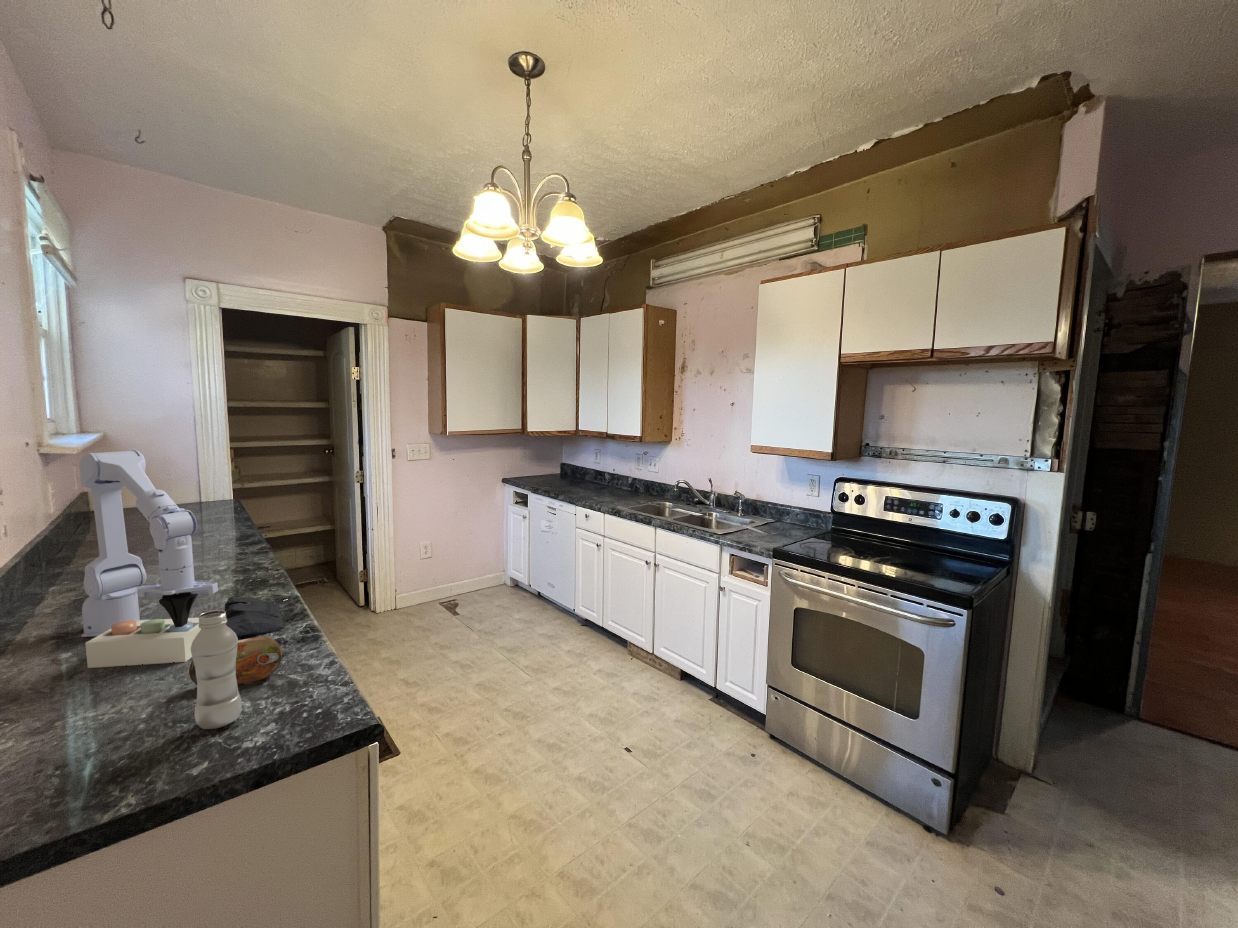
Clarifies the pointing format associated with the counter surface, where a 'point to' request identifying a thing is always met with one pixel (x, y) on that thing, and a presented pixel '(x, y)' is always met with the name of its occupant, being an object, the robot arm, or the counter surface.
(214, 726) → the plastic bottle
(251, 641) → the tin
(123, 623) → the terracotta button
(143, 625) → the sage green button
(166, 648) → the button console
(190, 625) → the slate blue button
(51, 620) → the counter surface
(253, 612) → the black fabric pouch
